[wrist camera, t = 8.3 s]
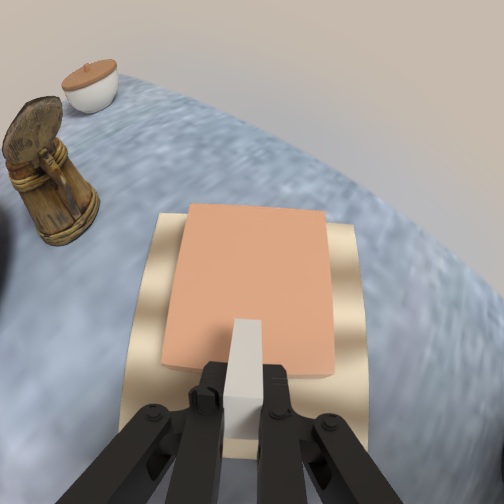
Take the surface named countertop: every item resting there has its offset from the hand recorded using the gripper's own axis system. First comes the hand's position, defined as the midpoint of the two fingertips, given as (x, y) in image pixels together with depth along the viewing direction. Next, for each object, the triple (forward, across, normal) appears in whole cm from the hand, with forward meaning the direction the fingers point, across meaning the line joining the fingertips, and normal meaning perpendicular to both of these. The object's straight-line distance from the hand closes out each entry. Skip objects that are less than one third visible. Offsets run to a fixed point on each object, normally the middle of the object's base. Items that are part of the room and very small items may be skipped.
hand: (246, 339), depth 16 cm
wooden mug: (+14, -20, +4) cm, 25 cm away
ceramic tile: (+2, 0, -4) cm, 5 cm away
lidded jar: (+34, -30, +23) cm, 51 cm away
